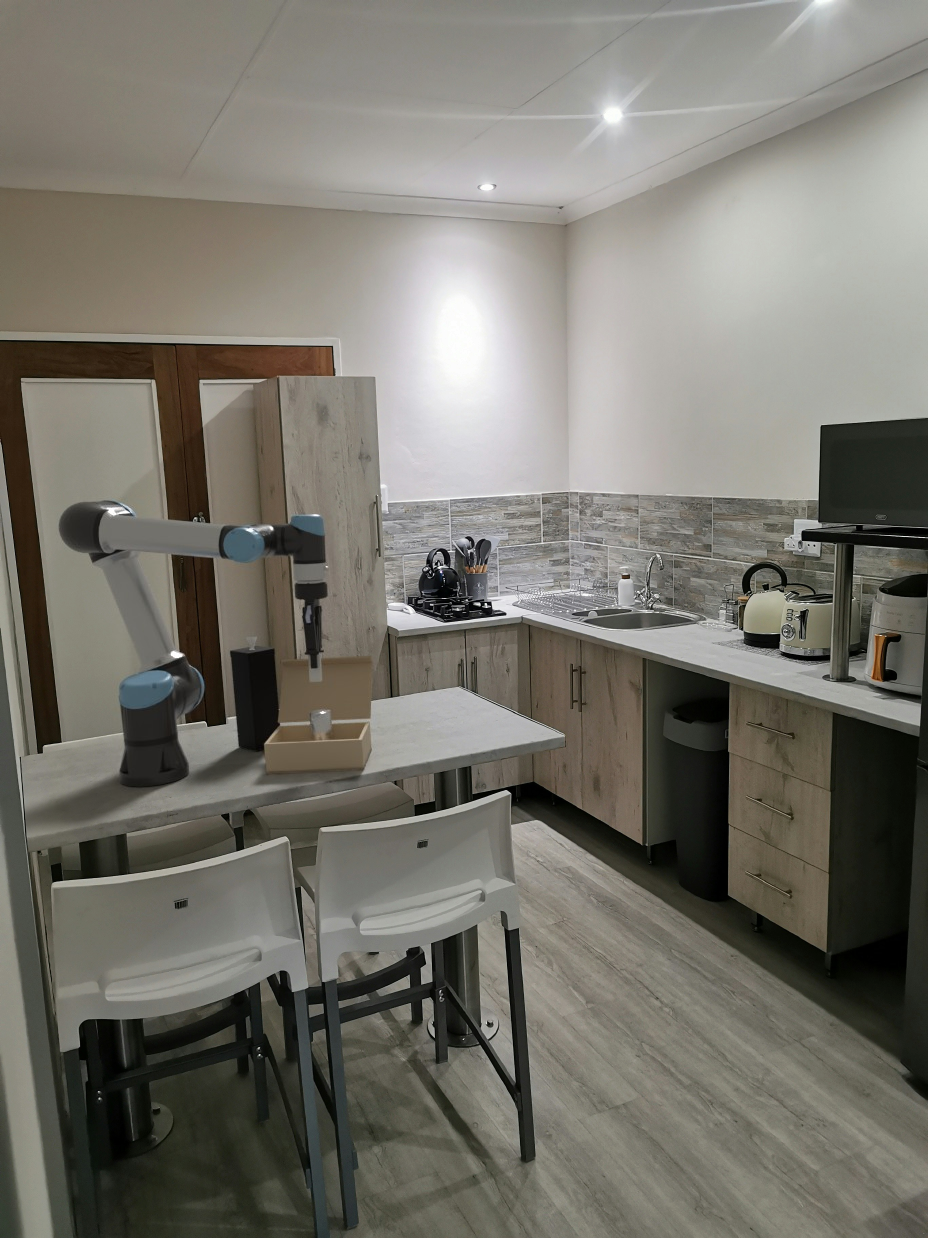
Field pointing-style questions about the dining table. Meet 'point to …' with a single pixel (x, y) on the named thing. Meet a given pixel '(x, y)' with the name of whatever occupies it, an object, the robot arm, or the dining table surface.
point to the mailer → (318, 749)
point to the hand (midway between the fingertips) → (315, 681)
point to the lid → (327, 689)
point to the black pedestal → (255, 694)
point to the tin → (321, 725)
